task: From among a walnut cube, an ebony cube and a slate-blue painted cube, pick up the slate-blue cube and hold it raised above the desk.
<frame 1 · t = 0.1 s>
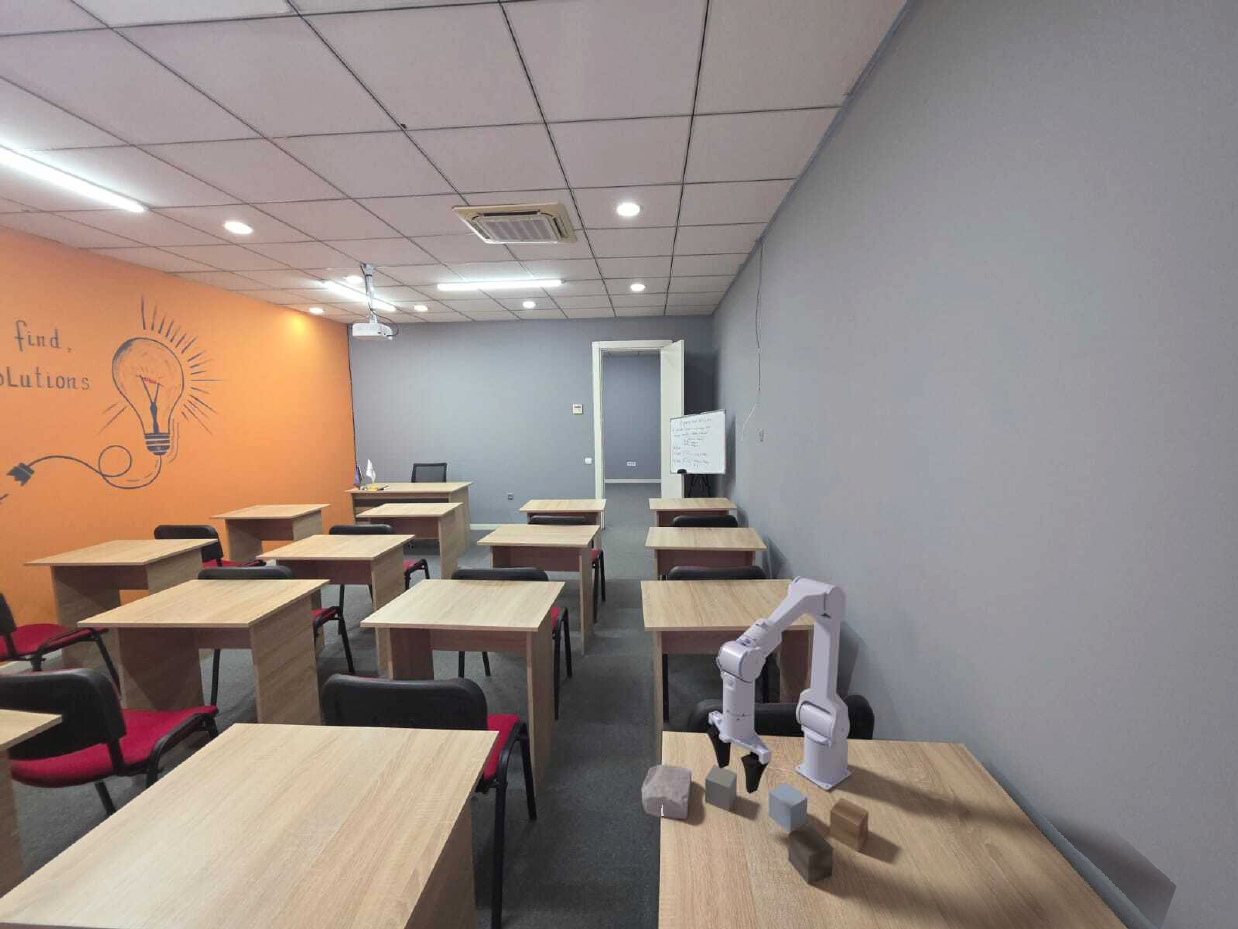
hand: (737, 778, 92), 10 cm above the table, fingers open, 7 cm apart
stone block: (665, 798, 101), on the table
grey cube: (720, 799, 100), on the table
walnut cube: (848, 836, 91), on the table
slate blue cube: (787, 819, 95), on the table
ebony cube: (809, 868, 84), on the table
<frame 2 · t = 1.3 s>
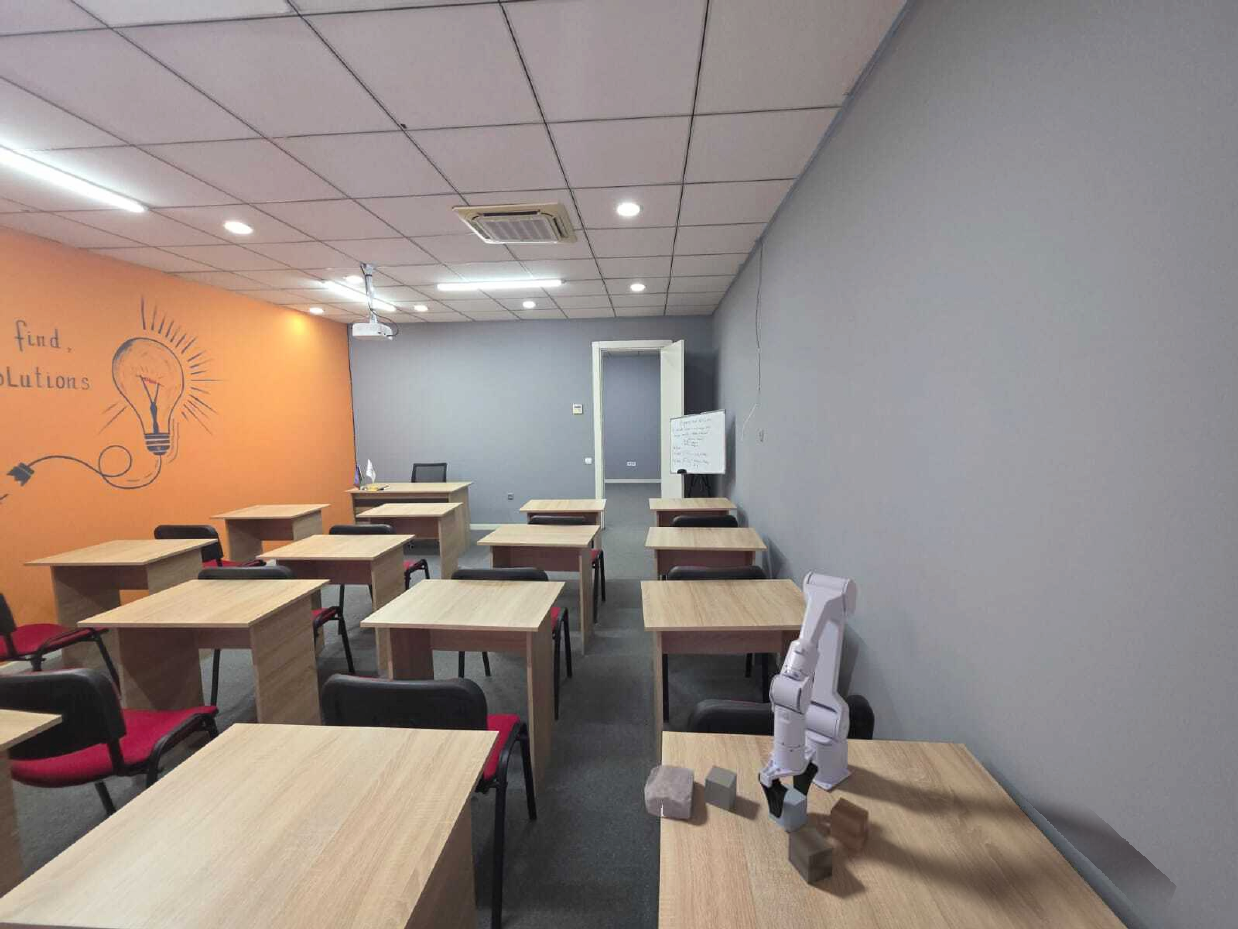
hand: (787, 806, 95), 3 cm above the table, fingers open, 7 cm apart
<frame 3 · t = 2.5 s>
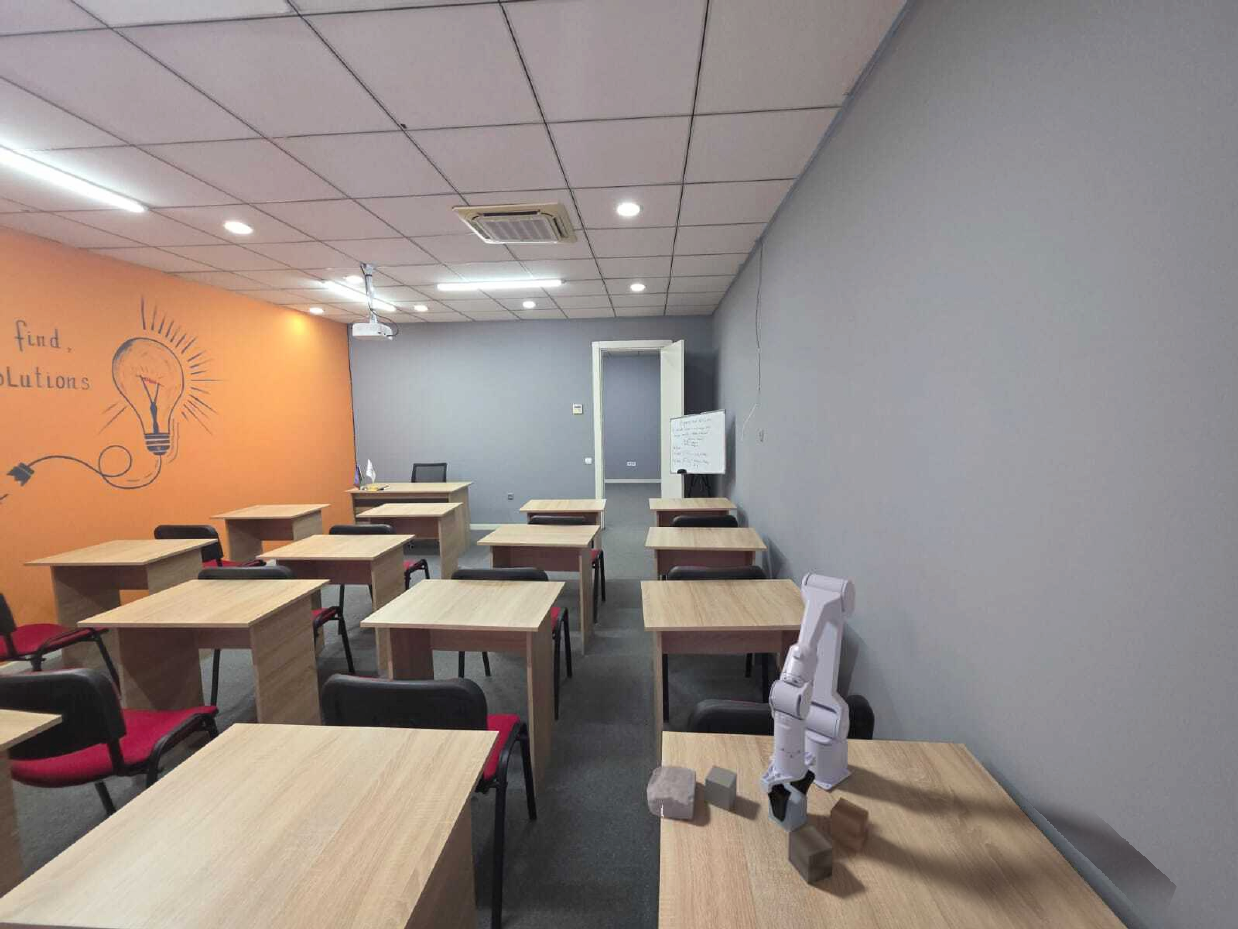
hand: (787, 811, 95), 1 cm above the table, fingers closed on slate blue cube, 5 cm apart
slate blue cube: (787, 819, 95), on the table, touching gripper
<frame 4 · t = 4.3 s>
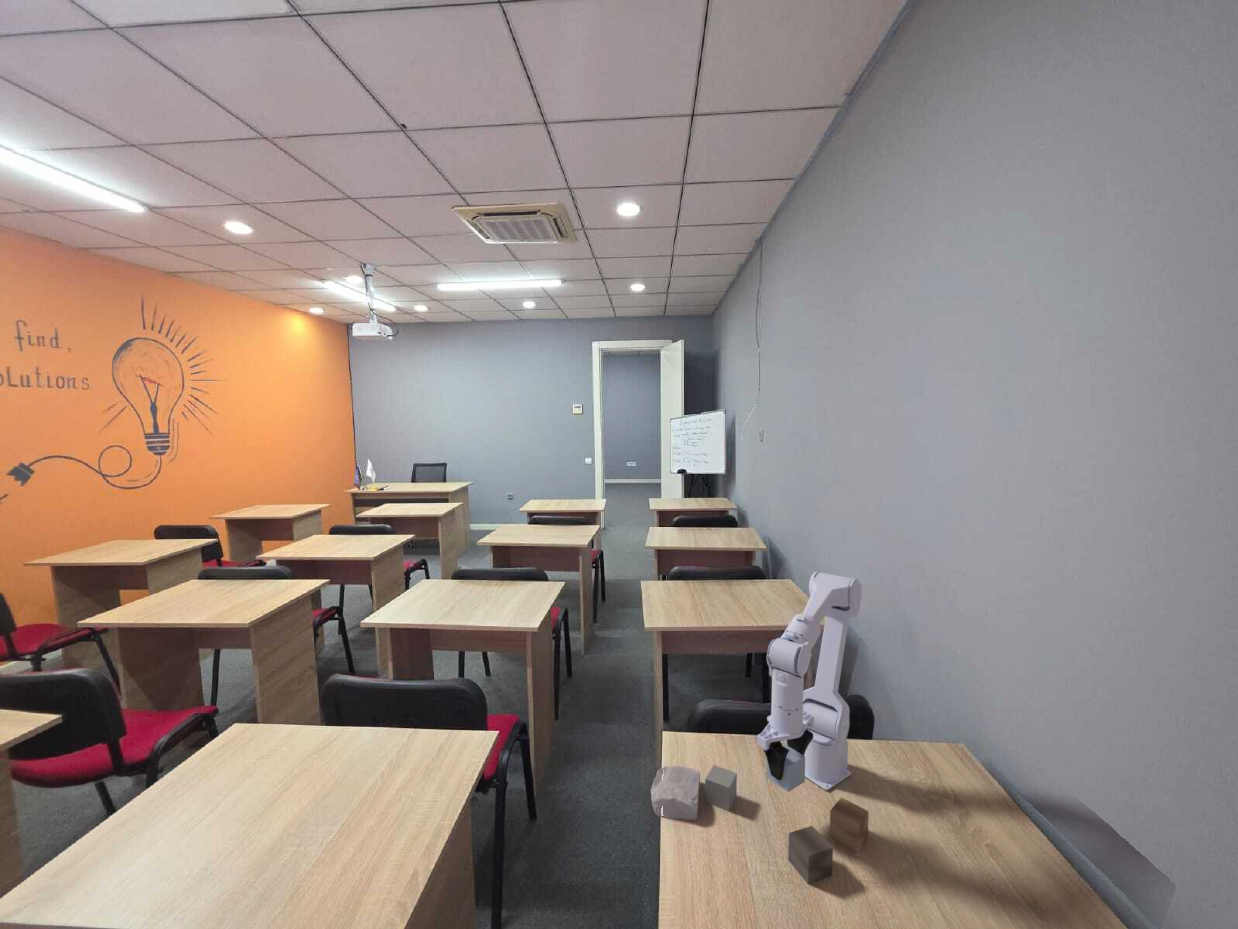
hand: (785, 771, 94), 10 cm above the table, fingers closed on slate blue cube, 5 cm apart
slate blue cube: (785, 779, 94), point 8 cm above the table, touching gripper
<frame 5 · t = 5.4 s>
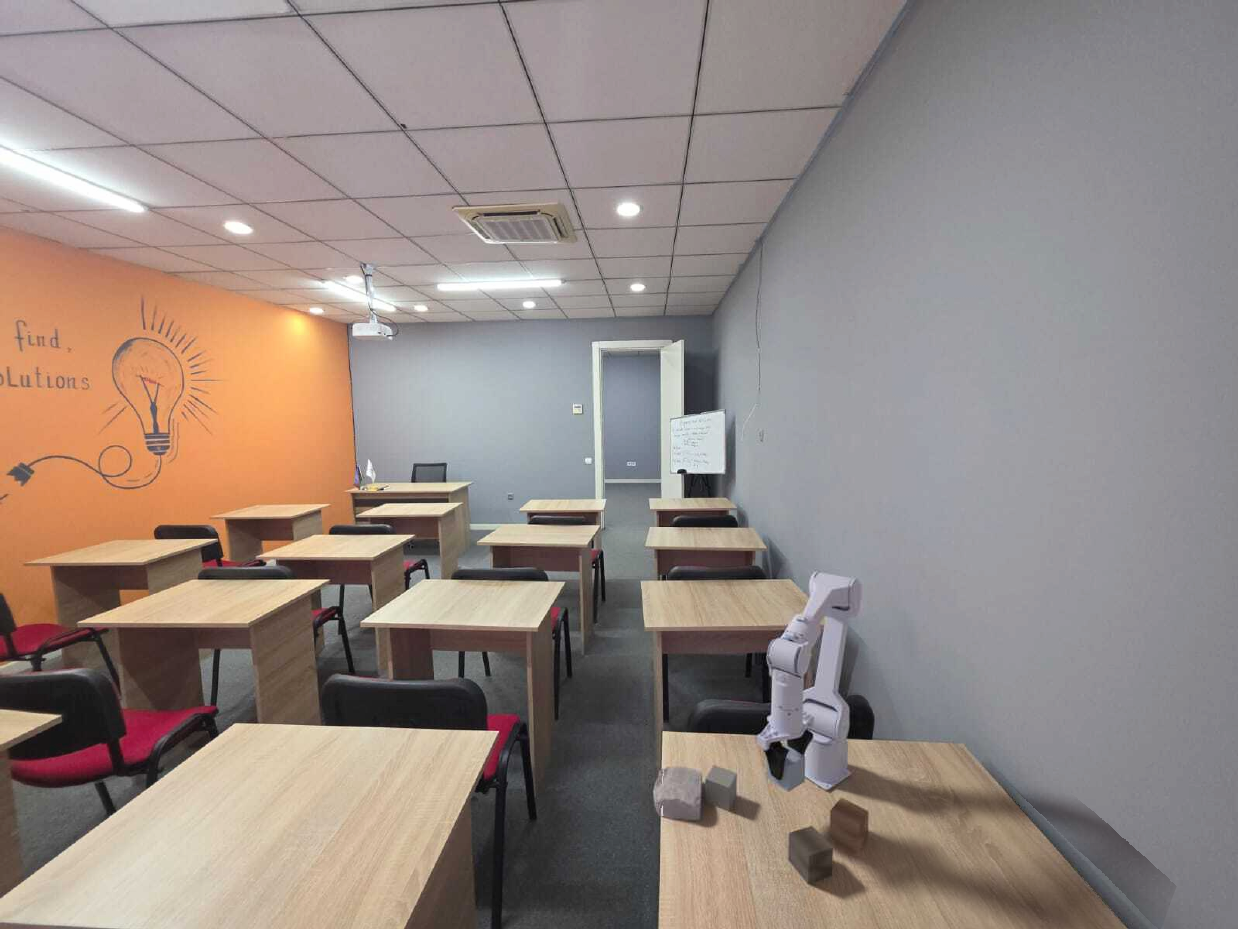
hand: (785, 771, 94), 10 cm above the table, fingers closed on slate blue cube, 5 cm apart
slate blue cube: (785, 779, 94), point 8 cm above the table, touching gripper
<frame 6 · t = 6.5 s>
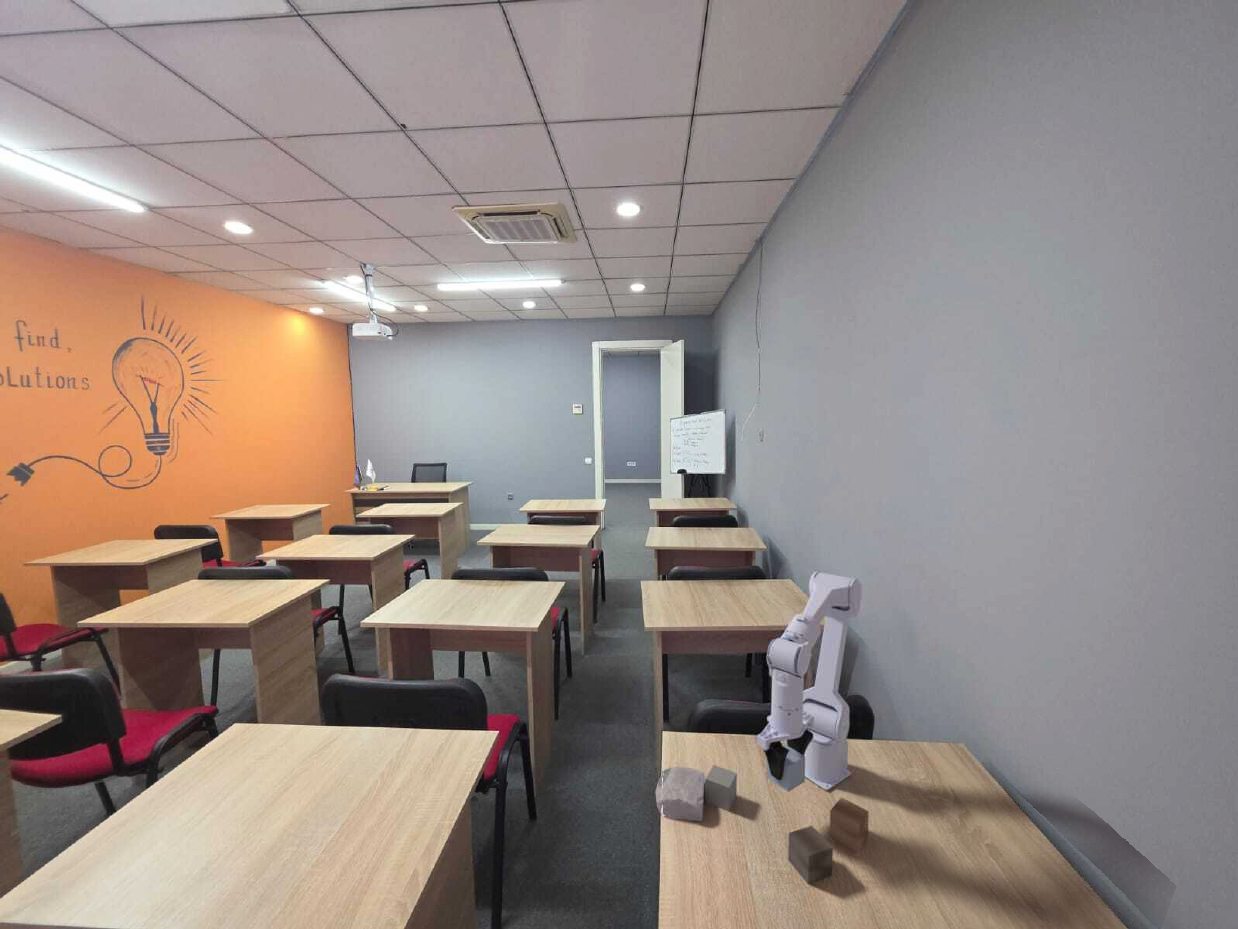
hand: (785, 771, 94), 10 cm above the table, fingers closed on slate blue cube, 5 cm apart
slate blue cube: (785, 779, 94), point 8 cm above the table, touching gripper
at the end: the gripper is holding slate blue cube; slate blue cube point 8.3 cm above the table; ebony cube moved 0.1 cm from its start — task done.
